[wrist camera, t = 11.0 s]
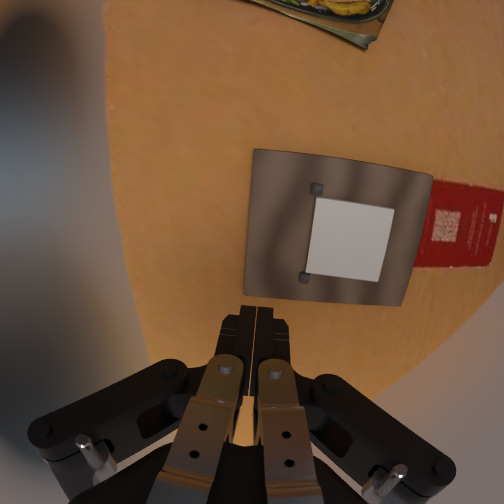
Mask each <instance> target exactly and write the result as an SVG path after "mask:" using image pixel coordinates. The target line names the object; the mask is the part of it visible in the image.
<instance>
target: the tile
mask: <svg viewBox="0 0 504 504" xmlns="http://www.w3.org/2000/svg"><path fill="white" fill-rule="evenodd" d="M393 215H394V209H393V208H387V207H381V206H375V205H369V204H363V203H357V202H351V201H344V200H337V199H330V198H323V197H316V203H315V210H314V218H313V225H312V232H311V239H310V245H309V252H308V258H307V265H306V273H313V274H320V275H328V276H336V277H343V278H351V279H359V280H367V281H375V282H378V280H379V276H380V272H381V268H382V264H383V260H384V256H385V252H386V248H387V243H388V239H389V234H390V230H391V225H392V220H393Z"/></svg>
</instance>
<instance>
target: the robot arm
mask: <svg viewBox="0 0 504 504" xmlns="http://www.w3.org/2000/svg"><path fill="white" fill-rule="evenodd" d="M255 317H256V306H246V305H241V309H240V315H231V314H229V315H228V316H227V317H226V318H225V319H224V320H223V322H222V326H221V330H220V335H219V338H218V342H217V346H216V351H215V355H214V357H213V358H211V359H210V360H209V362H208V364H206V365H204V366H201V367H196V368H187V366H186V365H185V364H184V363H183V362H181V361H179V360H176V359H164V360H161V361H159V362H157V363H155V364H153V365H151V366H149V367H147V368H145V369H143V370H141V371H139V372H137V373H135V374H133V375H131V376H129V377H127V378H125V379H123V380H121V381H119V382H117V383H114V384H112V385H110V386H109V387H106V388H104V389H102V390H100V391H98V392H96V393H93V394H91V395H89V396H87V397H85V398H82V399H80V400H78V401H76V402H74V403H72V404H70V405H67V406H65V407H63V408H60V409H58V410H56V411H54V412H51V413H49V414H46V415H44V416H42V417H40V418H37V419H35V420H34V421H33V422H32V423H31V424H30V425H29V427H28V432H27V434H28V438H29V441H30V442H31V443H32V445H33V446H34V447H35V449H36V450H37V451H38V453H39V455H40V456H41V457H42V458H43V460H44V461H45V462H46V463H47V464H48V465H49V467H50V468H51V470H52V472H53V473H54V475H55V477H56V479H57V480H58V482H59V484H60V486H61V488H62V489H63V491H64V493H65V494H66V496H67V497H68V499H69V501H70V502H69V503H68V504H425V503H426V502H427V501H429V500H430V499H432V498H433V497H434V496H435V495H437V494H438V493H439V492H440V491H441V490H443V489H444V488H445V487H446V486H447V485H449V484H450V483H451V482H452V481H453V479H454V478H455V475H456V466H455V464H454V462H453V461H452V460H451V459H450V458H449V457H448V456H446V455H445V454H443V453H442V452H440V451H439V450H438V449H436V448H435V447H434V446H432V445H431V444H429V443H428V442H426V441H425V440H424V439H422V438H421V437H419V436H418V435H417V434H415V433H414V432H412V431H411V430H410V429H408V428H407V427H406V426H404V425H403V424H402V423H400V422H399V421H397V420H396V419H395V418H393V417H392V416H391V415H389V414H388V413H387V412H385V411H384V410H382V409H381V408H380V407H379V406H377V405H376V404H375V403H373V402H372V401H371V400H369V399H368V398H367V397H365V396H364V395H363V394H362V393H360V392H359V391H358V390H356V389H355V388H354V387H352V386H351V385H350V384H349V383H347V382H346V381H345V380H343V379H342V378H341V377H339V376H337V375H333V374H322V375H319V376H317V377H316V378H315V379H314V380H313V379H310V378H306V377H303V376H301V375H299V374H298V373H296V372H295V371H294V370H293V368H292V366H291V363H290V345H289V328H288V325H287V324H286V322H285V321H284V319H274V318H273V308H269V307H258V310H257V320H256V330H255V340H254V351H253V362H252V373H251V384H250V395H249V396H254V405H253V446H245V447H244V446H239V445H236V444H233V440H234V435H235V431H236V426H237V422H238V417H239V413H240V407H241V405H242V401H243V396H248V389H249V380H250V370H251V360H252V350H253V339H254V328H255ZM177 428H178V431H177V433H176V436H175V438H174V441H173V442H172V443H169V444H166V445H163V446H161V447H159V448H157V449H155V450H154V451H152V452H150V453H149V454H147V455H146V456H144V457H143V458H141V459H139V460H138V461H136V462H135V463H133V464H131V465H130V466H128V467H126V468H125V469H123V470H121V471H120V472H118V473H117V474H115V473H116V470H117V463H119V462H121V461H122V460H125V459H126V458H128V457H130V456H132V455H134V454H135V453H137V452H139V451H141V450H142V449H144V448H146V447H147V446H149V445H151V444H153V443H154V442H156V441H158V440H159V439H161V438H163V437H164V436H166V435H168V434H169V433H171V432H173V431H174V430H176V429H177ZM310 441H311V442H312V443H313V444H314V445H315V446H316V447H317V448H318V449H320V450H321V451H322V452H323V453H324V454H325V455H326V456H327V457H328V458H329V459H331V460H332V461H333V462H334V463H335V464H336V465H337V466H338V467H339V468H341V469H342V470H343V471H344V472H345V473H346V474H348V475H349V476H350V477H351V478H352V479H353V480H354V481H356V482H357V483H358V484H359V485H360V486H362V490H361V495H362V497H361V496H360V495H359V494H358V493H357V492H356V491H355V490H353V489H352V488H351V487H350V486H349V485H348V484H347V483H346V482H345V481H344V480H343V479H341V477H339V476H338V475H337V474H336V473H335V472H334V471H333V470H332V469H331V468H330V467H329V466H328V465H327V464H326V463H324V462H323V461H322V460H320V459H319V458H317V457H315V456H313V453H312V448H311V442H310Z"/></svg>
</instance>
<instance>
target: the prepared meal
mask: <svg viewBox="0 0 504 504" xmlns="http://www.w3.org/2000/svg"><path fill="white" fill-rule="evenodd" d="M250 1H253V2H257V3H260V4H262V5H265V6H267V7H270V8H272V9H274V10H277V11H279V12H281V13H284V14H286V15H289V16H291V17H294V18H296V19H299V20H302V21H305V22H308V23H310V24H313V25H315V26H318V27H320V28H323V29H325V30H328V31H330V32H332V33H335V34H337V35H339V36H341V37H343V38H345V39H347V40H349V41H351V42H353V43H355V44H357V45H359V46H361V47H362V48H364V49H366V50H367V47H368V44H369V43H370V42H371V41H373V40H376V39H377V37H378V34H379V32H380V30H381V27H382V25H383V23H384V21H385V19H386V17H387V14H388V12H389V10H390V8H391V6H392V3H393V1H394V0H371V2H368V1H357V2H355V1H352V2H341V3H340V2H331V1H324V0H250ZM304 2H305V3H304ZM378 3H380V4H379V5H378ZM370 5H371V6H370ZM374 7H377V8H376V9H374V10H373V11H371V10H372V8H374ZM319 11H321V12H319Z"/></svg>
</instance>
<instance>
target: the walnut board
mask: <svg viewBox="0 0 504 504" xmlns="http://www.w3.org/2000/svg"><path fill="white" fill-rule="evenodd" d="M433 177H434V176H432V175H429V174H425V173H420V172H416V171H411V170H406V169H401V168H396V167H391V166H386V165H380V164H375V163H369V162H363V161H357V160H351V159H344V158H337V157H330V156H323V155H315V154H307V153H298V152H289V151H279V150H268V149H256V148H255V149H254V157H253V171H252V184H251V197H250V211H249V225H248V238H247V252H246V266H245V280H244V295H246V296H257V297H267V298H279V299H291V300H303V301H316V302H330V303H345V304H362V305H381V306H401V305H402V302H403V299H404V296H405V292H406V289H407V286H408V283H409V279H410V276H411V273H412V269H413V266H414V262H415V259H416V255H417V251H418V247H419V243H420V239H421V235H422V231H423V227H424V223H425V218H426V214H427V209H428V204H429V199H430V194H431V188H432V183H433ZM316 197H323V198H330V199H337V200H344V201H351V202H357V203H363V204H369V205H375V206H381V207H387V208H393V209H394V215H393V220H392V225H391V230H390V234H389V239H388V243H387V248H386V252H385V256H384V260H383V264H382V268H381V272H380V276H379V280H378V282H375V281H367V280H359V279H351V278H343V277H336V276H328V275H320V274H313V273H306V265H307V258H308V252H309V245H310V239H311V232H312V225H313V218H314V210H315V203H316Z"/></svg>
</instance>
